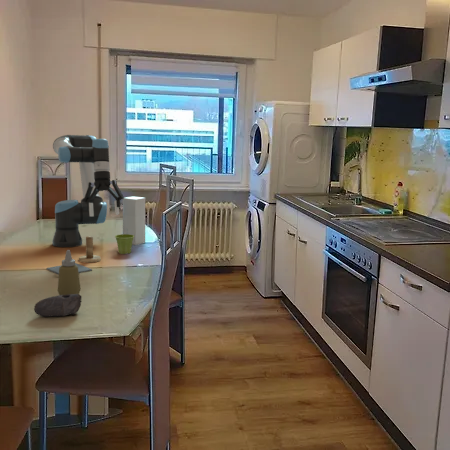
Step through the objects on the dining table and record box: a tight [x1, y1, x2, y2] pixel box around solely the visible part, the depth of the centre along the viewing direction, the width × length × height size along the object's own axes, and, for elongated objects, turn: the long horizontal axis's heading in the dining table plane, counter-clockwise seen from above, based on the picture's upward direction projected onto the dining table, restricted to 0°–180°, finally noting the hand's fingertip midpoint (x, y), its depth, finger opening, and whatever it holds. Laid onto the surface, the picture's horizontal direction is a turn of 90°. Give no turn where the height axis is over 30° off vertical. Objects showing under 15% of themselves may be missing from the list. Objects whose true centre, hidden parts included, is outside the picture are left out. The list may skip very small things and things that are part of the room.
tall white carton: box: [122, 195, 146, 246], centre depth 278 cm, size 9×9×25 cm
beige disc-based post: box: [78, 235, 102, 264], centre depth 240 cm, size 10×10×11 cm
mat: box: [46, 262, 93, 276], centre depth 223 cm, size 14×14×1 cm
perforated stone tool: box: [33, 293, 82, 318], centre depth 168 cm, size 15×5×7 cm, turn 107°
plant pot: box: [114, 233, 134, 255], centre depth 256 cm, size 9×9×9 cm
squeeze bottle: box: [57, 249, 81, 296], centre depth 184 cm, size 8×8×18 cm
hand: (104, 215), depth 245 cm, fingers open, 13 cm apart
